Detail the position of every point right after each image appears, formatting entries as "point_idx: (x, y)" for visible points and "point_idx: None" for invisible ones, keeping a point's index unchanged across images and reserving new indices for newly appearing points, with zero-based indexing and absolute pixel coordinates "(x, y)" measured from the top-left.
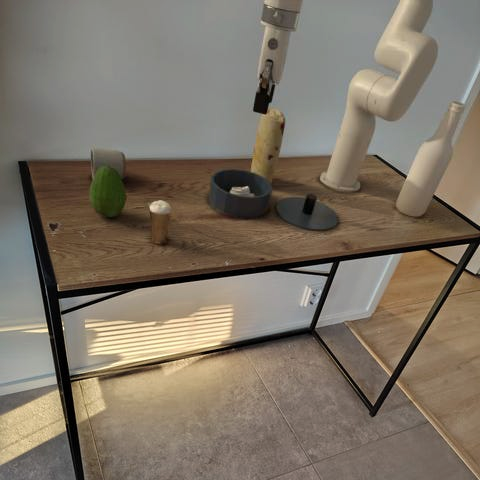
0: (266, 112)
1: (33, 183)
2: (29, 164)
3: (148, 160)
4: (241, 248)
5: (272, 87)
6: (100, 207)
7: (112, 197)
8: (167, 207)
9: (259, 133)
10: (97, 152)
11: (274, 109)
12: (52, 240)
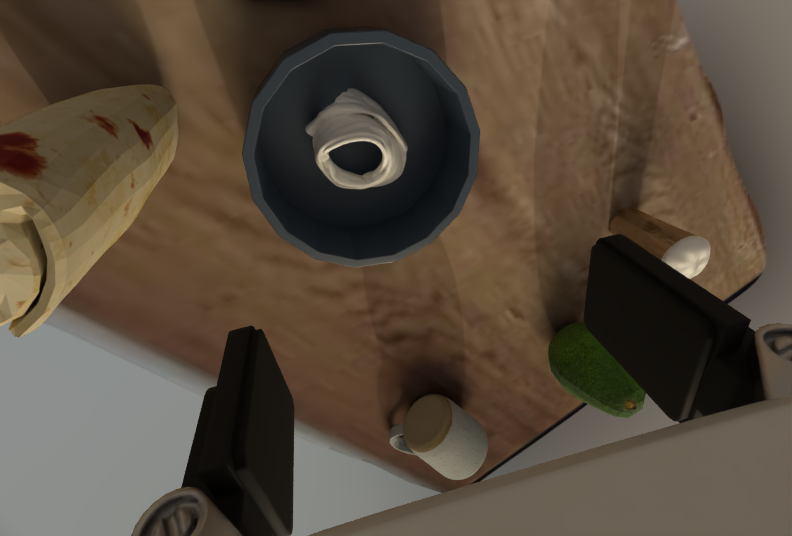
0: (626, 241)
1: (515, 451)
2: None
3: (294, 418)
4: (604, 30)
5: (255, 449)
6: None
7: None
8: (701, 246)
9: (93, 264)
10: (474, 465)
11: None
12: None
